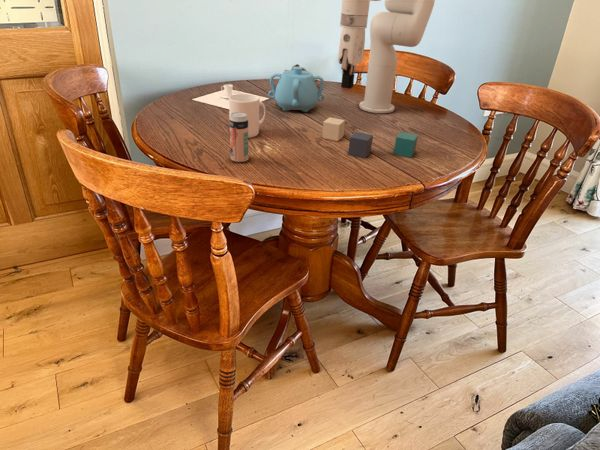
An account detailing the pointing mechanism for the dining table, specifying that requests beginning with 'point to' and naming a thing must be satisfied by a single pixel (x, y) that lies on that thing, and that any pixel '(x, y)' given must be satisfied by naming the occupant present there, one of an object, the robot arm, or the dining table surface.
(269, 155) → the dining table surface
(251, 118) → the mug
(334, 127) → the cream block
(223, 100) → the teacup and saucer
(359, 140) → the slate block
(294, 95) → the decorative pot
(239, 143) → the supplement bottle
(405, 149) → the teal block
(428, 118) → the dining table surface
